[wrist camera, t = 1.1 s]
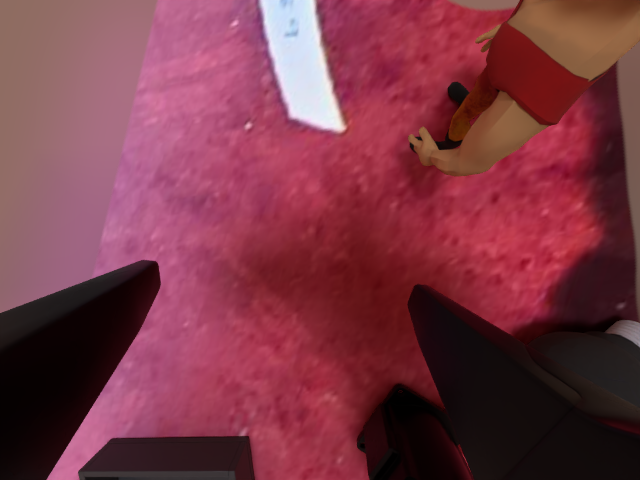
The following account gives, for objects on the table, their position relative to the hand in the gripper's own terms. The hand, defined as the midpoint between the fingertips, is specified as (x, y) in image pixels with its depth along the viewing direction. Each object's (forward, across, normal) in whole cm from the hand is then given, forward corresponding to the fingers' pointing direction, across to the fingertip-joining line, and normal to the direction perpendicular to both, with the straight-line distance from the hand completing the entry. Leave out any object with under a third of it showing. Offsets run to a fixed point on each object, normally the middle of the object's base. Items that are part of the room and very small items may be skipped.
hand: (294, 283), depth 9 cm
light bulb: (+5, -21, +7) cm, 22 cm away
